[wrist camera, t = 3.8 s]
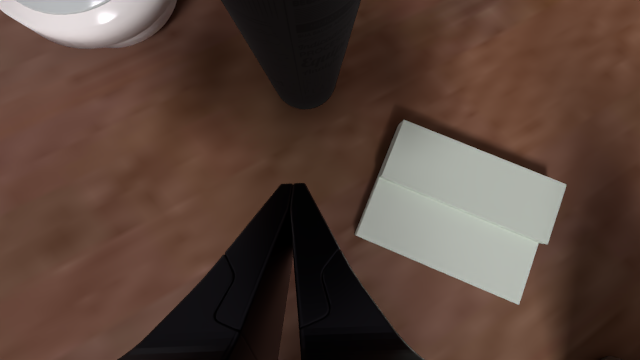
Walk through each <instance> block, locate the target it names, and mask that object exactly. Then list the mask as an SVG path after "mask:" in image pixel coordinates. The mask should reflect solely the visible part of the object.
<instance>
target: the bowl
mask: <svg viewBox="0 0 640 360" xmlns="http://www.w3.org/2000/svg"><path fill="white" fill-rule="evenodd" d="M176 1H177V0H0V10H2V11H3V12H4V13H5V14H7V15H8V16H10V17H12V18H13V19H15V20H17V21H18V22H20V23H21V24H23V25H25V26H26V27H28V28H30V29H31V30H33V31H34V32H36V33H38V34H39V35H41V36H43V37H44V38H46V39H48V40H50V41H52V42H54V43H57V44H60V45H63V46H67V47H72V48H79V49H94V48H103V47H106V48H121V47H127V46H131V45H134V44H137V43H140V42H142V41H144V40H146V39H148V38H149V37H151V36H152V35H154V34H155V33H156V32H157V31H159V30H160V29H161V28H162V27H163V25H164V24H165V23H166V22H167V20H168V19H169V18H170V16H171V14H172V12H173V10H174V8H175V5H176Z"/></svg>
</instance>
